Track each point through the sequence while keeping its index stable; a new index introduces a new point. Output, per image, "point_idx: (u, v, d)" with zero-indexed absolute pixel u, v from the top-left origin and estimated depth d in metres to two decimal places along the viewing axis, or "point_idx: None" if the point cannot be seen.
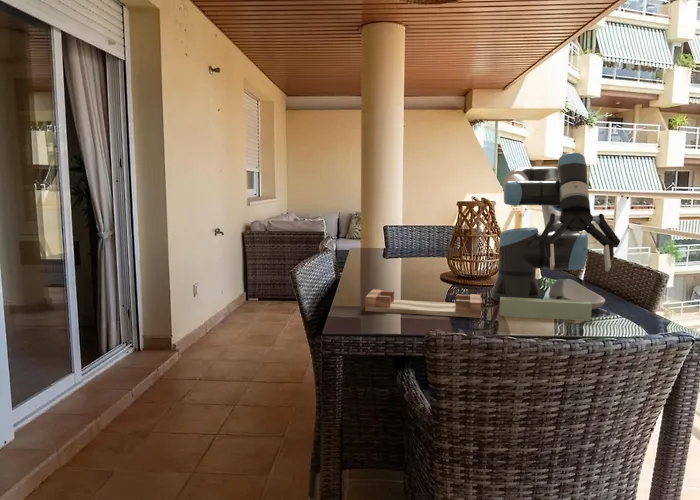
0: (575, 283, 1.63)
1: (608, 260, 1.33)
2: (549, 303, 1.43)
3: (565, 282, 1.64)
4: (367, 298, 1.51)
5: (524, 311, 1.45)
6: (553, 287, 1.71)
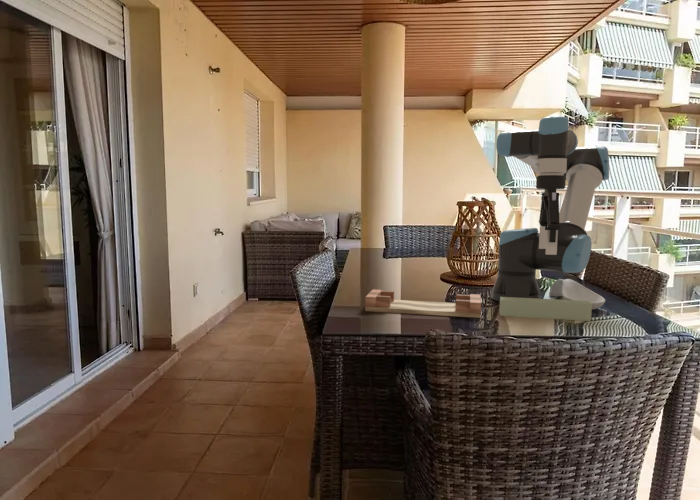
0: (575, 283, 1.64)
1: (545, 247, 1.37)
2: (549, 303, 1.43)
3: (565, 282, 1.64)
4: (367, 298, 1.51)
5: (524, 311, 1.45)
6: (553, 287, 1.72)
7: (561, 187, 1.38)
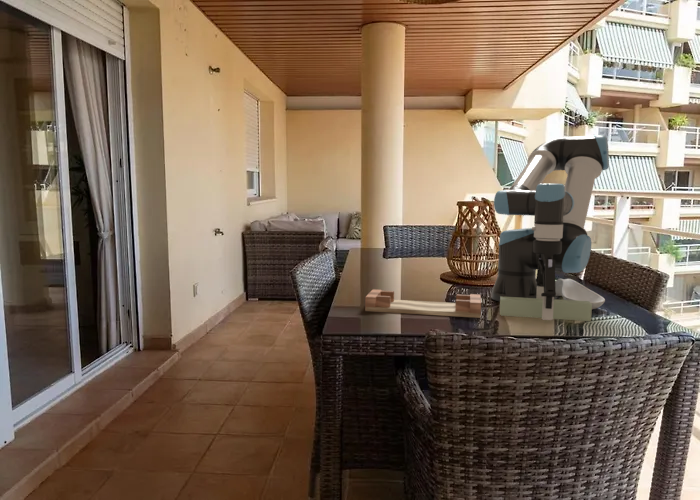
0: (575, 283, 1.64)
1: (542, 312, 1.39)
2: None
3: (565, 282, 1.64)
4: (367, 298, 1.51)
5: (524, 311, 1.45)
6: None
7: (557, 253, 1.40)
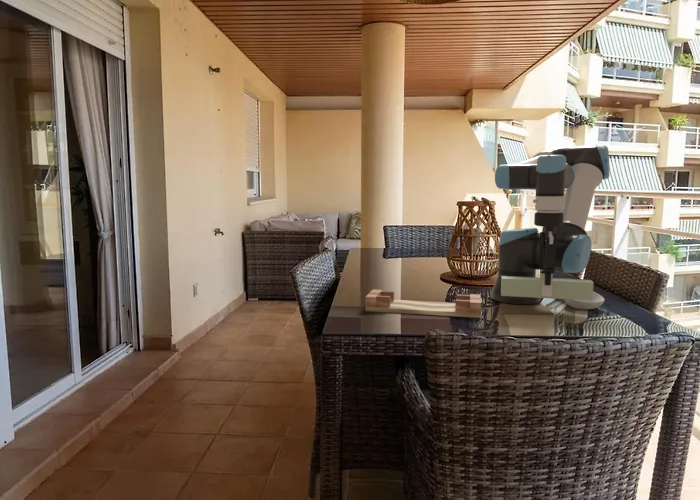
0: None
1: (541, 289, 1.43)
2: None
3: None
4: (367, 298, 1.51)
5: (525, 290, 1.45)
6: None
7: (559, 225, 1.39)
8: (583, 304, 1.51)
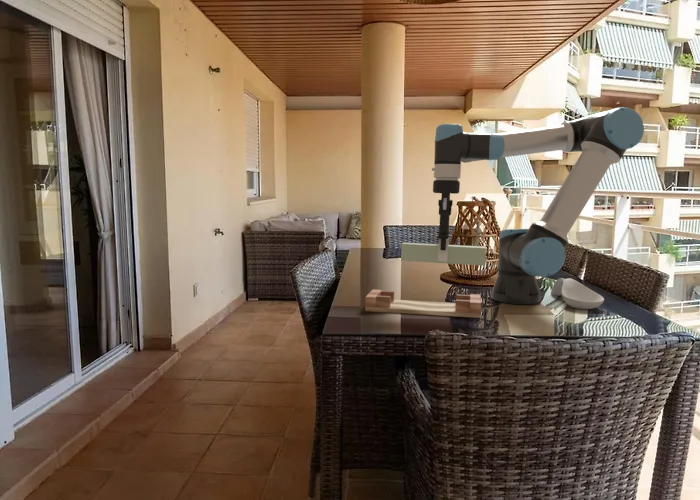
0: (576, 282, 1.65)
1: (438, 254, 1.48)
2: None
3: (566, 281, 1.65)
4: (367, 298, 1.51)
5: (423, 255, 1.49)
6: (555, 286, 1.73)
7: (454, 192, 1.44)
8: (582, 304, 1.52)
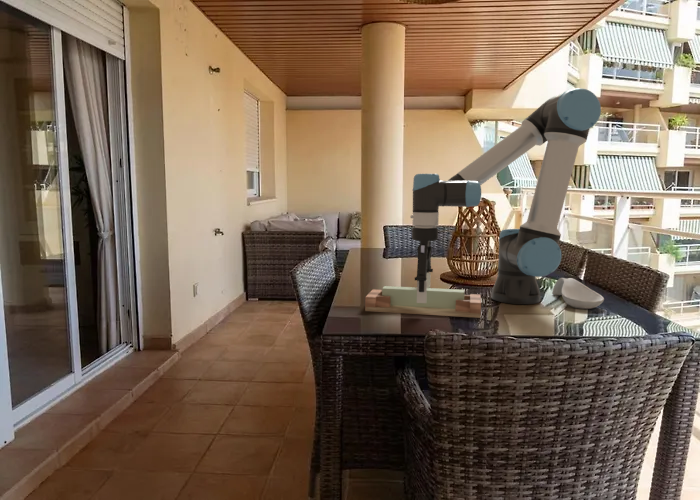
0: (577, 282, 1.65)
1: None
2: None
3: (566, 281, 1.66)
4: (367, 298, 1.51)
5: (403, 300, 1.52)
6: (556, 286, 1.73)
7: (432, 239, 1.48)
8: (581, 303, 1.52)
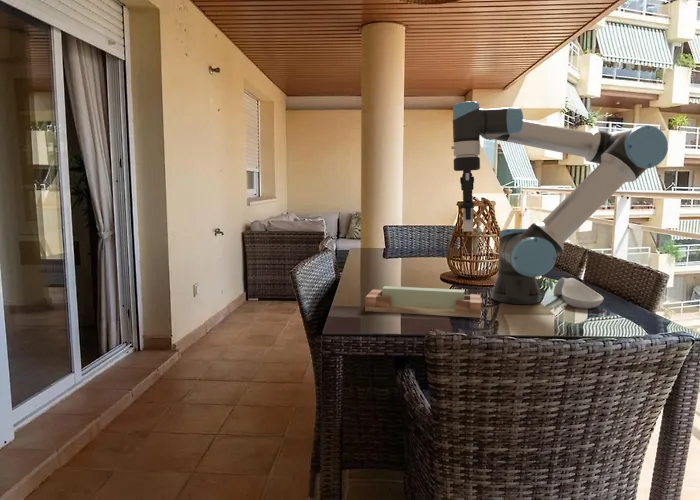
0: (577, 282, 1.66)
1: (463, 224, 1.46)
2: (425, 292, 1.51)
3: (567, 281, 1.66)
4: (367, 298, 1.51)
5: (403, 300, 1.52)
6: (557, 286, 1.74)
7: (475, 168, 1.47)
8: (581, 303, 1.53)
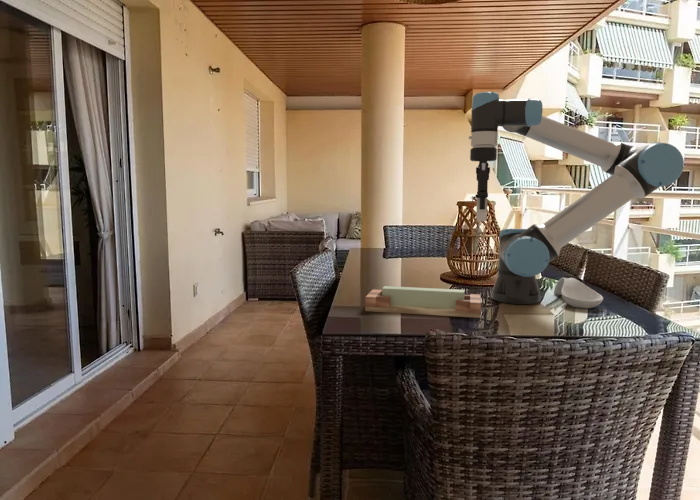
0: (577, 282, 1.66)
1: (476, 214, 1.47)
2: (425, 292, 1.51)
3: (567, 280, 1.67)
4: (367, 298, 1.51)
5: (403, 300, 1.52)
6: (558, 285, 1.74)
7: (491, 158, 1.48)
8: (580, 303, 1.53)
